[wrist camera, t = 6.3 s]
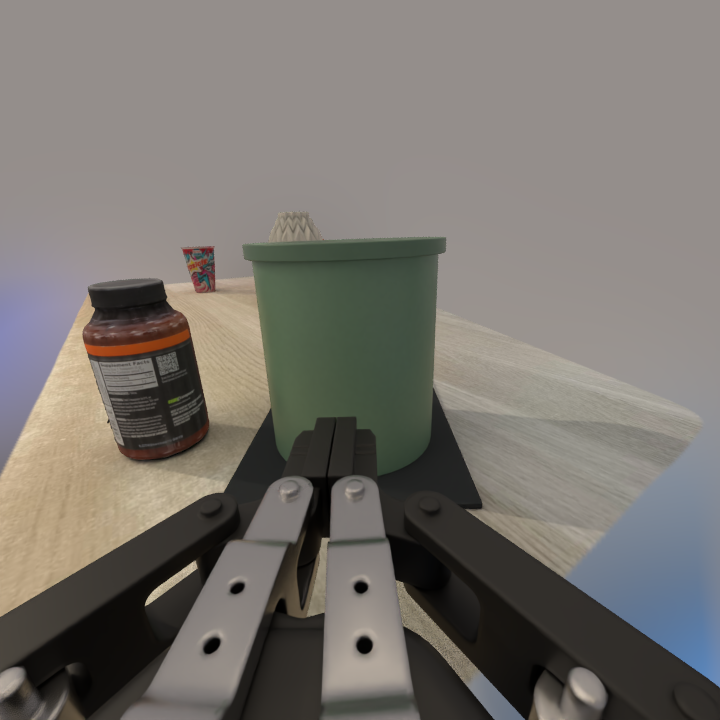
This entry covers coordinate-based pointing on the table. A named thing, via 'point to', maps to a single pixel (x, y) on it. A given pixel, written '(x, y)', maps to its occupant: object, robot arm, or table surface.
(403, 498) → the runner
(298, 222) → the vase
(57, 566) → the table surface
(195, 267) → the cup
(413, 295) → the bucket
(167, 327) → the supplement bottle
